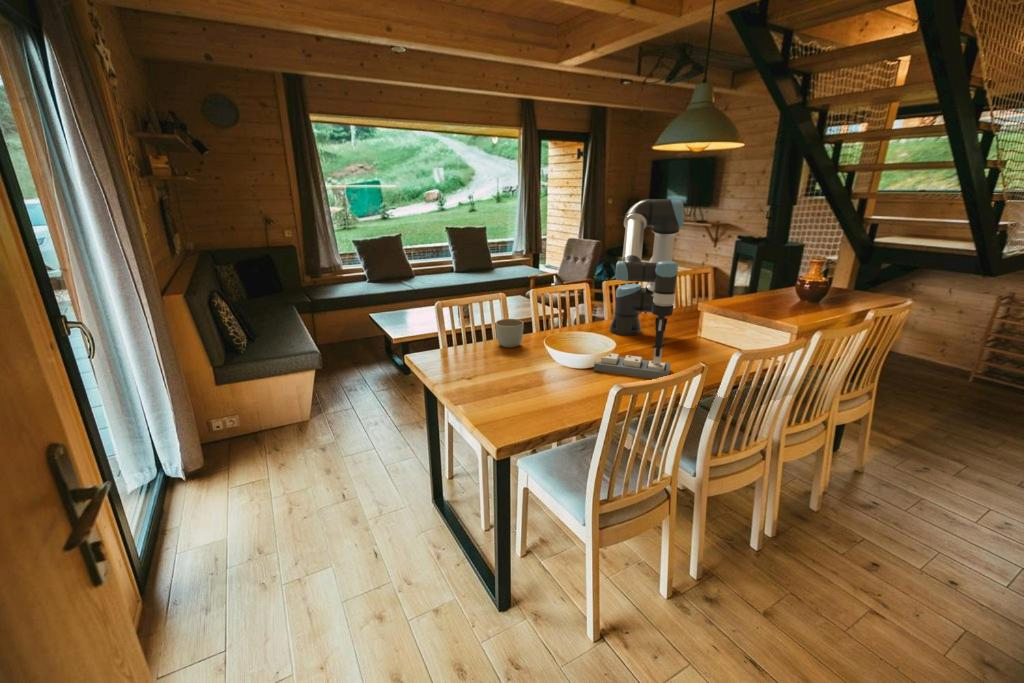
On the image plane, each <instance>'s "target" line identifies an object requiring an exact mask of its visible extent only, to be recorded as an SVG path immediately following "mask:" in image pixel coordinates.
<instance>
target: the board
mask: <svg viewBox="0 0 1024 683" xmlns="http://www.w3.org/2000/svg"><path fill="white" fill-rule="evenodd" d="M624 359H625V356H624V357H623V356H619V357H618V362H617V364H609V363H601V362H596V361H594V364H593V371H594V372H603V373H610V374H616V375H623V376H624V375H625V376H630V377H631V376H632V377H639V378H646V379H653V380H655V379H654V378H659V377H663V376H667V375H669V376H670V372H671V366H672V364H671V363H670V362H665V361H664V362H663V363H665V369H664V371H663V370H655V369H648V364H649V361H650V360H649V359H648V360H647V359H642V360H641V365H640V367H632V366H624Z"/></svg>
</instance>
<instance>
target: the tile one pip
mask: <svg viewBox="0 0 1024 683" xmlns="http://www.w3.org/2000/svg"><path fill="white" fill-rule="evenodd" d="M610 353H611V352H610ZM618 357H620V354H618V353H611V354H609V355H608V356H606V357H601V363H609V364H617V362H618Z"/></svg>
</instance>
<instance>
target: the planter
mask: <svg viewBox="0 0 1024 683" xmlns="http://www.w3.org/2000/svg"><path fill="white" fill-rule="evenodd" d="M495 331H496V332H495V333H496V340H497V341H496V342H497V343H498V344H499V345H500V346H501V347H502V348H503V347H504V348H508V349H509V348H510V349H511V348H516V347H518V346H520V345H521V343H522V341H523V336H524V335H523V334H524V321H522V320H521V319H517V318H503V319H499V320H496V321H495Z"/></svg>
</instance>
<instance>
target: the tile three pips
mask: <svg viewBox="0 0 1024 683" xmlns="http://www.w3.org/2000/svg"><path fill="white" fill-rule="evenodd" d="M648 361H649V364H648V369H655V370H663V371H664V369H665V363H666V362H665V363H663V362H662V361H661V363H660V364H653V360H648Z"/></svg>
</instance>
